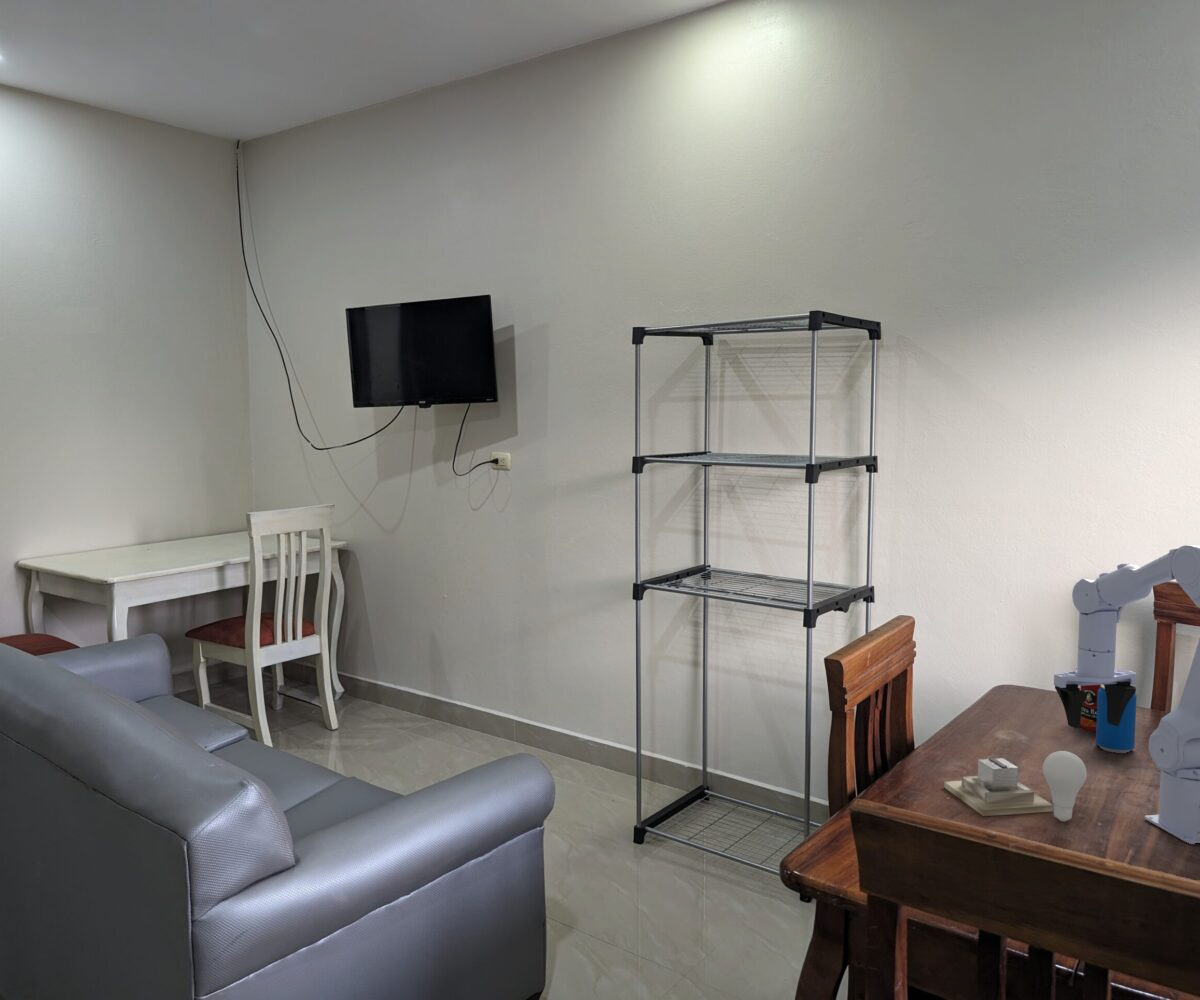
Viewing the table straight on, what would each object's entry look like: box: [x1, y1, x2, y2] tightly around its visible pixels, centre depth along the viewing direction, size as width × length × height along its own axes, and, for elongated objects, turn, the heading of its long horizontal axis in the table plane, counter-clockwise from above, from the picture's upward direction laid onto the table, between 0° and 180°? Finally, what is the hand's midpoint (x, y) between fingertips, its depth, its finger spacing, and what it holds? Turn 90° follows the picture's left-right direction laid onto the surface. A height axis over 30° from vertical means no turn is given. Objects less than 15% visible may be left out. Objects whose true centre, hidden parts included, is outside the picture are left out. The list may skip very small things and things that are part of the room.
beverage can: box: [1095, 684, 1138, 754], centre depth 179 cm, size 6×6×12 cm
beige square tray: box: [943, 775, 1054, 817], centre depth 156 cm, size 12×12×2 cm
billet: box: [977, 757, 1019, 792], centre depth 155 cm, size 4×4×5 cm
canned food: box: [1079, 685, 1101, 732], centre depth 192 cm, size 8×8×11 cm
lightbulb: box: [1042, 750, 1087, 822], centre depth 147 cm, size 6×6×11 cm
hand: (1093, 725), depth 164 cm, fingers open, 7 cm apart
